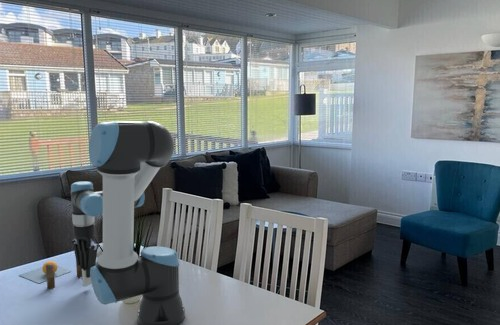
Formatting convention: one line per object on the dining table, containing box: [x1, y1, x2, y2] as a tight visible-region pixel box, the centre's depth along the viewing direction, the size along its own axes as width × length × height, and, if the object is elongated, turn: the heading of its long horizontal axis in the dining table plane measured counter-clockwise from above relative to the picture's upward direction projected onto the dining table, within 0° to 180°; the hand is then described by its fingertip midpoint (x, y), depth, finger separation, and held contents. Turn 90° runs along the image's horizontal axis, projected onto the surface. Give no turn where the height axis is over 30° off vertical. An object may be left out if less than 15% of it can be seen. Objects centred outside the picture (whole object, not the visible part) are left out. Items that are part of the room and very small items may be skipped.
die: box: [96, 243, 103, 259], centre depth 180 cm, size 8×9×10 cm
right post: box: [75, 260, 82, 278], centre depth 164 cm, size 3×3×9 cm
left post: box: [46, 263, 56, 290], centre depth 154 cm, size 3×3×9 cm
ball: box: [42, 260, 58, 274], centre depth 166 cm, size 6×6×6 cm
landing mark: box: [18, 265, 72, 284], centre depth 167 cm, size 14×14×1 cm
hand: (87, 284), depth 153 cm, fingers closed
